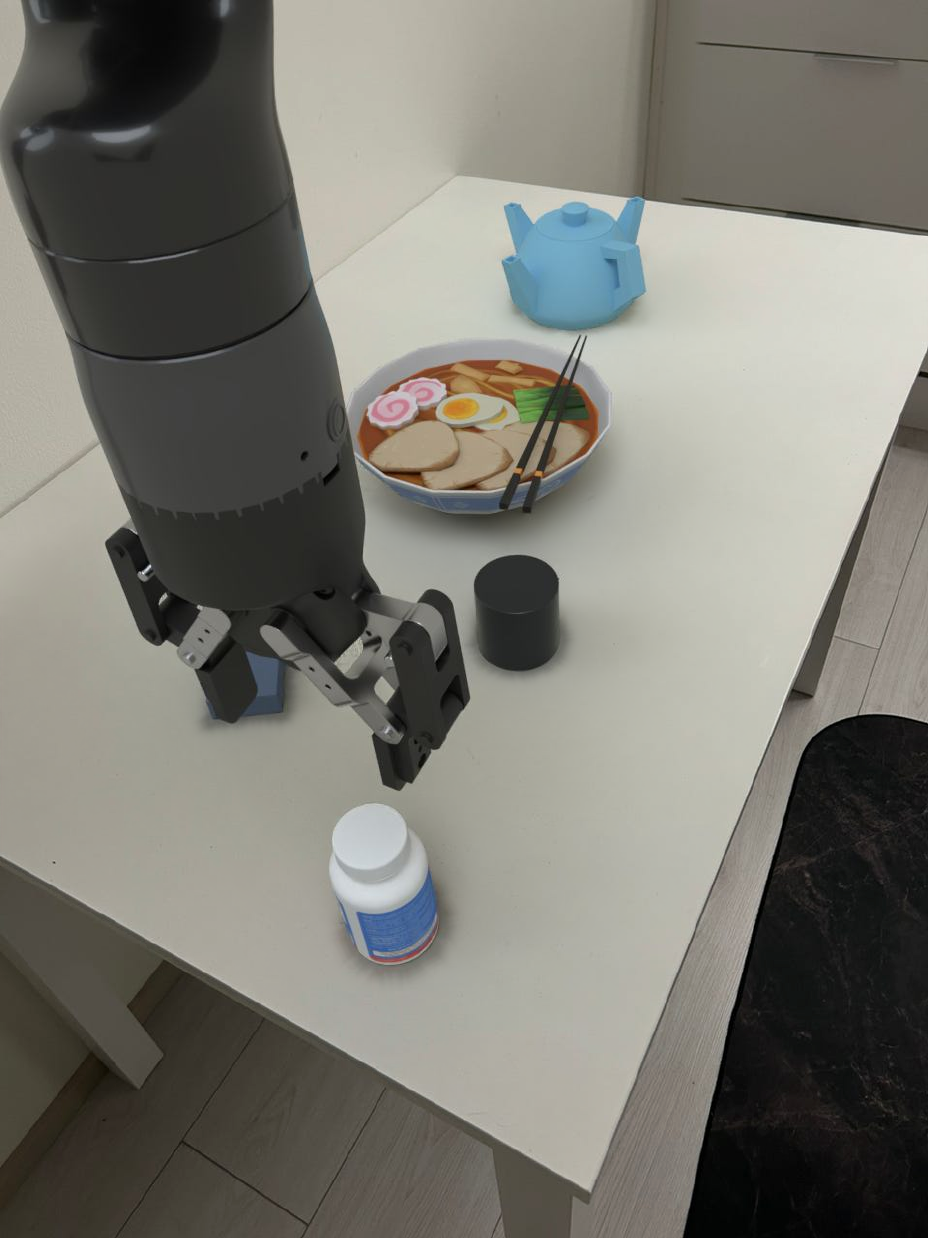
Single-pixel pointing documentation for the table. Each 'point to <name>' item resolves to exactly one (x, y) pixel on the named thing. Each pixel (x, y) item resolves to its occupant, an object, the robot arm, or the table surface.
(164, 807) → the table surface
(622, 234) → the teapot
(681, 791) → the table surface
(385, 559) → the table surface
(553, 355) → the ramen bowl
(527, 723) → the table surface
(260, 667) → the blue rectangular block
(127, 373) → the robot arm
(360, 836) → the pill bottle
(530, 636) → the black cylinder
